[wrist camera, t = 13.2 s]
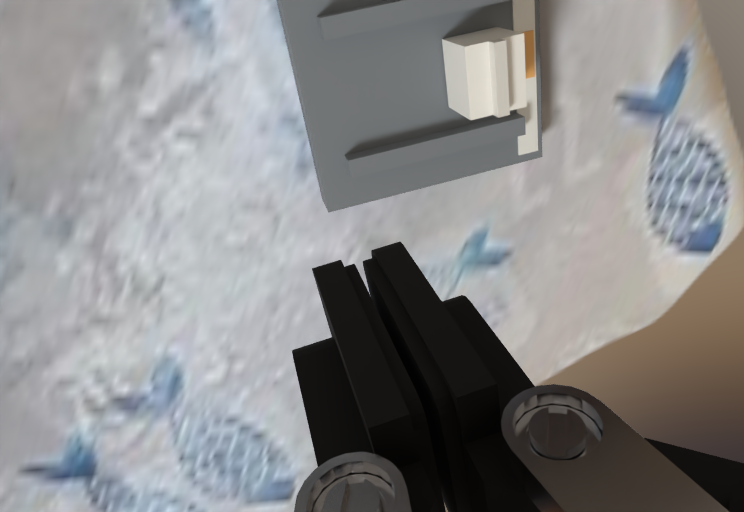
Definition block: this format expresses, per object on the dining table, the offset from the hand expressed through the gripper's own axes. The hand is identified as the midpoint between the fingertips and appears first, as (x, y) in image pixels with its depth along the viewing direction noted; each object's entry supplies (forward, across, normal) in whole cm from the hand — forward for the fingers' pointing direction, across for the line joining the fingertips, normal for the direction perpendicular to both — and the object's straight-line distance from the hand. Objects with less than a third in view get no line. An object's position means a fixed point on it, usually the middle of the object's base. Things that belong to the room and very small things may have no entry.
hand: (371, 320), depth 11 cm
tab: (+20, -11, +2) cm, 23 cm away
